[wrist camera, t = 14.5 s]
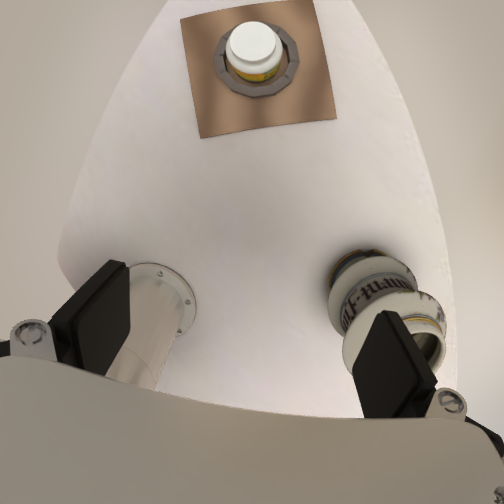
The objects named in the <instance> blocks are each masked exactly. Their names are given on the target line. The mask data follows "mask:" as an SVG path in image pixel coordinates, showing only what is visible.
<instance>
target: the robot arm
mask: <svg viewBox="0 0 504 504" xmlns="http://www.w3.org/2000/svg"><path fill="white" fill-rule="evenodd" d="M161 271H162V272H163V273H162V272H161ZM195 313H196V303H195V298H194V295H193V293H192V291H191V289H190V287H189V286H188V284H187V283H186V282H185V281H184V280H183V279H182V278H181V277H180V276H179V275H178V274H176V273H175V272H174V271H172V270H170V269H168V268H166V267H164V266H161V265H158V264H151V263H145V264H139V265H135V266H133V267H131V268H128V267H126V265H125V263H124V262H120V261H115V260H109V261H108V262H107V263H106V264H105V265H103V266H102V267H101V268H100V269H99V270H98V271H97V272H96V273H95V274H94V275H93V276H92V277H91V278H90V279H89V280H88V281H87V282H86V283H85V284H84V285H83V286H82V287H81V288H80V289H79V290H78V291H77V292H76V293H75V294H74V295H73V296H72V297H71V298H70V299H69V300H68V301H67V302H66V303H65V304H64V305H63V306H62V307H61V308H60V309H59V310H58V311H57V312H56V313H55V314H54V315H53V316H52V319H51V320H50V321H49V322H48V323H46V322H44V321H42V320H37V319H28V320H24V321H22V322H20V323H18V324H17V325H15V326H14V327H13V329H12V330H11V333H10V340H8V341H6V340H1V339H0V504H504V443H503V440H502V438H501V437H500V436H499V435H498V434H496V433H494V432H492V431H491V430H489V429H487V428H486V427H484V426H482V425H481V424H479V423H477V422H476V421H474V420H472V419H470V418H469V417H467V416H466V413H467V404H466V402H465V400H464V398H463V397H462V396H461V395H460V394H459V393H458V392H456V391H455V390H452V389H450V388H440V389H438V390H436V388H435V385H436V384H437V382H438V381H437V379H436V377H435V375H434V373H433V372H432V370H431V368H430V366H429V364H428V363H427V361H426V359H425V357H424V356H423V354H422V352H421V350H420V349H419V347H418V345H417V344H416V342H415V340H414V338H413V337H412V335H411V333H410V332H409V330H408V328H407V327H406V325H405V324H404V322H403V320H402V319H401V317H400V315H399V314H398V313H397V312H395V311H388V310H382V311H381V313H378V314H377V315H376V316H375V319H374V321H373V323H372V326H371V328H370V330H369V332H368V335H367V337H366V339H365V341H364V343H363V345H362V347H361V350H360V352H359V354H358V356H357V358H356V360H355V362H354V364H353V367H352V375H353V379H354V382H355V386H356V389H357V393H358V396H359V400H360V403H361V407H362V411H363V414H364V418H333V417H316V416H303V415H292V414H282V413H273V412H265V411H257V410H250V409H243V408H236V407H230V406H224V405H219V404H213V403H208V402H203V401H198V400H193V399H188V398H183V397H179V396H174V395H170V394H166V393H162V392H158V391H154V389H155V386H156V384H157V381H158V379H159V376H160V373H161V371H162V368H163V366H164V363H165V361H166V358H167V356H168V353H169V351H170V348H171V346H172V343H173V341H174V338H176V337H178V336H180V335H182V334H184V333H185V332H186V331H187V330H188V329H189V328H190V326H191V325H192V323H193V320H194V317H195Z"/></svg>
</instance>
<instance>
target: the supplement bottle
mask: <svg viewBox="0 0 504 504" xmlns="http://www.w3.org/2000/svg"><path fill="white" fill-rule="evenodd" d="M226 55H227V58H228V60H229V62H230V64H231V65H232V67H233V69H234V70H235V72H236V74H237V75H238V76H239V77H240V78H241V79H243V80H244V81H247V82H250V83H262V82H266V81H268V80H270V79H271V78H273V77H274V76H275V74H276V73H277V71H278V69H279V66H280V61H281V57H282V43H281V40H280V38H279V37H278V35H277V34H276V33H275V32H274V31H273V30H272V29H271V28H270V27H268V26H267V25H265V24H263V23H260V22H246V23H243V24H241V25H239V26H238V27H236V28H235V29H234V30H233V32H232V33H231V35H230V37H229V39H228V41H227V44H226Z"/></svg>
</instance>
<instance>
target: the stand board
mask: <svg viewBox="0 0 504 504" xmlns="http://www.w3.org/2000/svg"><path fill="white" fill-rule="evenodd" d="M246 22H260V23H263V24H265V25H267V26H268V27H270V28H271V29H272V30H273V31H274V32H275V33H276V34H277V35H278V37H279V38H280V40H281V43H282V57H281V61H280V66H279V69H278V71H277V73H276V74H275V76H274V77H273V78H271V79H270V80H268V81H266V82H262V83H250V82H247V81H244V80H243V79H241V78H240V77H239V76H238V75H237V74H236V72H235V70H234V69H233V67H232V65H231V64H230V62H229V60H228V58H227V55H226V44H227V41H228V39H229V37H230V35H231V33H232V32H233V30H234V29H235V28H236V27H238V26H239V25H241V24H243V23H246ZM180 23H181V29H182V35H183V42H184V48H185V54H186V60H187V66H188V72H189V77H190V83H191V89H192V95H193V100H194V106H195V111H196V117H197V122H198V128H199V133H200V138H207V137H212V136H217V135H222V134H227V133H233V132H238V131H244V130H250V129H256V128H263V127H269V126H276V125H284V124H292V123H300V122H309V121H318V120H329V119H337V116H336V110H335V103H334V97H333V92H332V86H331V80H330V75H329V70H328V65H327V60H326V55H325V50H324V46H323V41H322V37H321V32H320V28H319V24H318V20H317V16H316V12H315V8H314V4H313V0H287V1H276V2H267V3H259V4H252V5H245V6H239V7H233V8H228V9H222V10H217V11H213V12H208V13H204V14H199V15H195V16H191V17H187V18H184V19H180Z"/></svg>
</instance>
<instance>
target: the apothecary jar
mask: <svg viewBox="0 0 504 504" xmlns="http://www.w3.org/2000/svg"><path fill="white" fill-rule="evenodd" d="M329 287H330V295H329V298H328V315H329V318H330V321H331V323H332V325H333V327H334V328H335V330H336V331H337V332H338V333H339V334H340V335H341V336H343V337H344V340H343V346H342V355H343V360H344V364H345V366H346V368H347V369H348V371H349V372H350V373H351V375H352V367H353V364H354V362H355V360H356V358H357V356H358V354H359V352H360V350H361V347H362V345H363V343H364V341H365V339H366V337H367V335H368V332H369V330H370V328H371V326H372V323H373V321H374V319H375V316H376V315H377V314H378V313H381V311H382V310H388V311H395V312H397V313H398V314H399V315H400V317H401V319H402V320H403V322H404V324H405V325H406V327H407V328H408V330H409V332H410V333H411V335H412V337H413V338H414V340H415V342H416V344H417V345H418V347H419V349H420V350H421V352H422V354H423V356H424V357H425V359H426V361H427V363H428V364H429V366H430V368H431V370H432V372H433V373H434V374H435V373H436V372H437V370H438V369H439V367H440V366H441V364H442V362H443V360H444V357H445V353H446V343H445V335H446V317H445V314H444V311H443V309H442V307H441V305H440V304H439V303H438V301H437V300H436V299H434V298H433V297H432V296H430V295H429V294H427V293H425V292H422V291H418V286H417V282H416V279H415V277H414V275H413V273H412V272H411V270H410V269H409V268H408V267H407V266H406V265H405V264H403V263H402V262H400V261H398V260H396V259H394V258H391V257H387V256H386V255H385V254H384V253H382V252H380V251H378V250H374V249H372V250H370V251H367V252H362V251H360V250H357V251H354V252H352V253H350V254H348V255H346V256H345V257H344V258H342V259H341V260H340V261H339V262H338V264H337V265H336V266H335V268H334V270H333V272H332V274H331V277H330V283H329ZM352 376H353V375H352Z"/></svg>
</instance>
